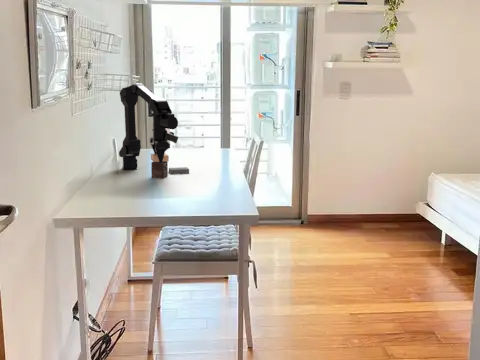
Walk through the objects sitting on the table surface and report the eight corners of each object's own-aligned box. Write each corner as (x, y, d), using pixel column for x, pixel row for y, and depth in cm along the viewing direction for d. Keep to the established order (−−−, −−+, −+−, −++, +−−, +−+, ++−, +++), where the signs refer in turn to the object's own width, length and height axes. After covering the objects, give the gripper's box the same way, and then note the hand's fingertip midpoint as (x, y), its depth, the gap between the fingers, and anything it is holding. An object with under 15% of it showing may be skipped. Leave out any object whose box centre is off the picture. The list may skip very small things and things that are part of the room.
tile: (153, 161, 245) (153, 156, 244) (150, 159, 251) (150, 153, 251) (168, 161, 247) (168, 155, 246) (165, 158, 253) (165, 153, 253)
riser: (170, 173, 259) (170, 169, 258) (168, 171, 263) (168, 167, 263) (189, 173, 262) (189, 169, 261) (186, 171, 266) (186, 167, 266)
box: (163, 178, 247) (163, 163, 246) (151, 178, 248) (151, 162, 247) (167, 176, 253) (168, 160, 252) (155, 175, 254) (155, 160, 253)
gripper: (181, 129, 240) (180, 164, 243) (172, 124, 257) (172, 157, 260) (156, 129, 236) (156, 164, 240) (149, 125, 254) (149, 157, 257)
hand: (159, 160), depth 249 cm, fingers closed on tile, 7 cm apart
